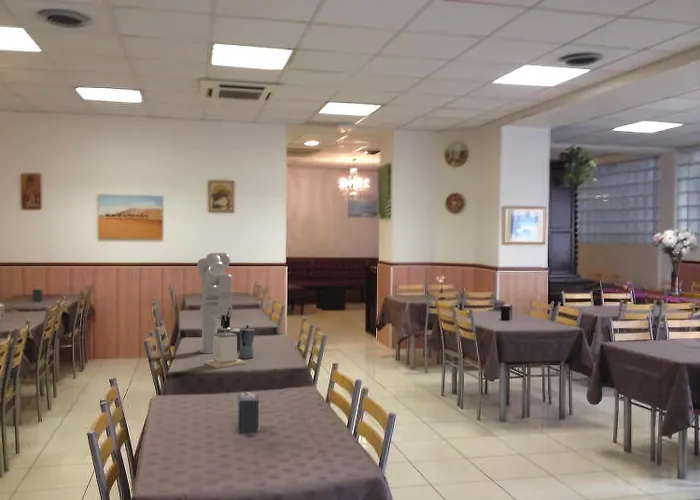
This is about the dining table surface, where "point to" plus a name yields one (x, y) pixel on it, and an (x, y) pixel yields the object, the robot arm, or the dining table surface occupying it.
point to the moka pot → (246, 343)
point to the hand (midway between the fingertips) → (225, 326)
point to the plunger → (225, 327)
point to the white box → (225, 351)
